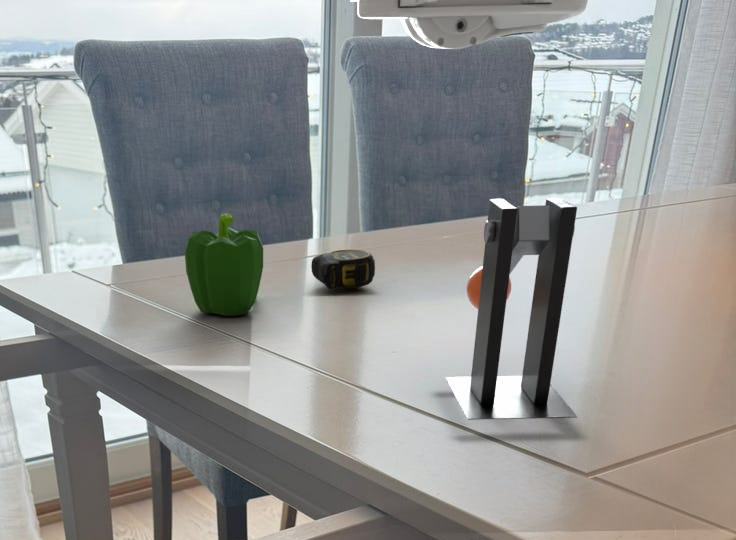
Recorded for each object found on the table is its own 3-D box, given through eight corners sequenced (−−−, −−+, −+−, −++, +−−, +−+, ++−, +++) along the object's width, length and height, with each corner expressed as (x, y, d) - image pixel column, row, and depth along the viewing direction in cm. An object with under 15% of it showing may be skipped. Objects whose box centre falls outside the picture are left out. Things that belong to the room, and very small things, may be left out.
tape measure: (309, 283, 111) (309, 250, 109) (365, 279, 112) (366, 246, 110) (323, 296, 106) (323, 261, 104) (381, 292, 107) (382, 257, 105)
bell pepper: (194, 302, 104) (189, 205, 99) (267, 303, 103) (266, 204, 98) (181, 321, 97) (174, 218, 92) (259, 322, 96) (257, 217, 91)
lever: (462, 317, 79) (462, 274, 79) (505, 316, 79) (505, 273, 79) (508, 250, 64) (508, 196, 64) (560, 249, 64) (560, 195, 64)
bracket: (443, 391, 77) (461, 194, 69) (541, 389, 76) (570, 191, 68) (465, 434, 68) (489, 215, 60) (575, 433, 68) (613, 212, 60)
